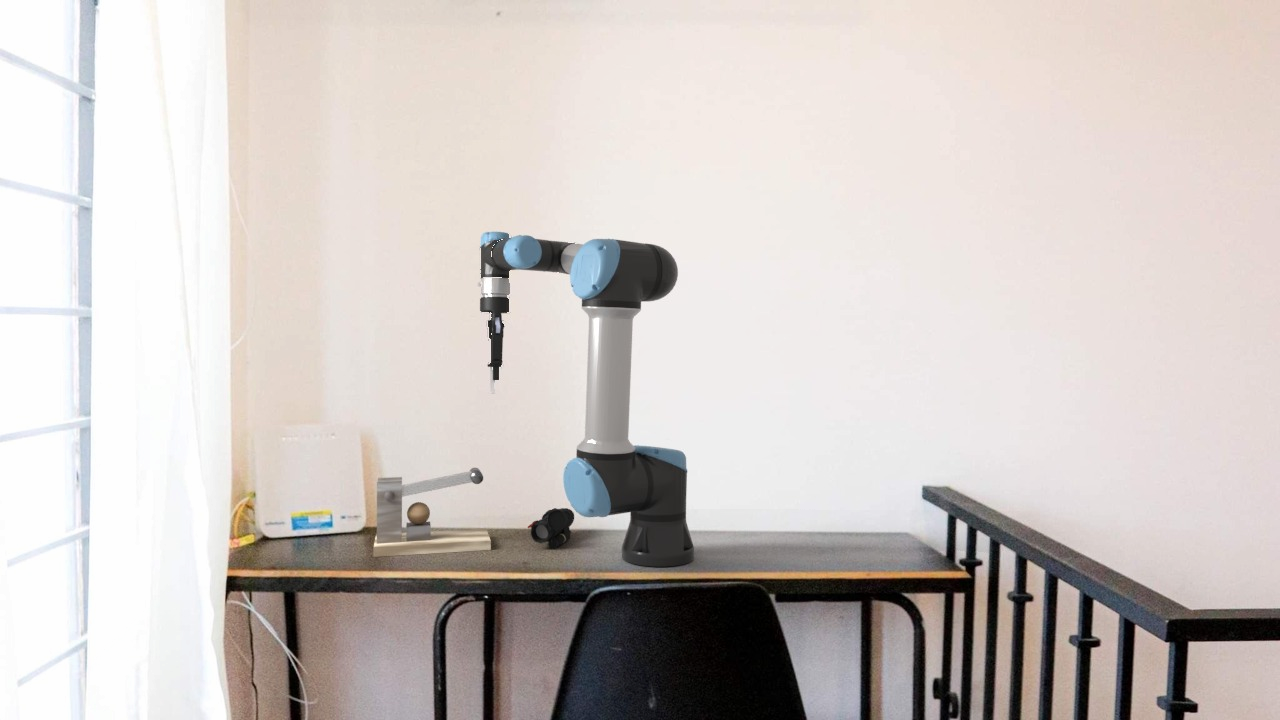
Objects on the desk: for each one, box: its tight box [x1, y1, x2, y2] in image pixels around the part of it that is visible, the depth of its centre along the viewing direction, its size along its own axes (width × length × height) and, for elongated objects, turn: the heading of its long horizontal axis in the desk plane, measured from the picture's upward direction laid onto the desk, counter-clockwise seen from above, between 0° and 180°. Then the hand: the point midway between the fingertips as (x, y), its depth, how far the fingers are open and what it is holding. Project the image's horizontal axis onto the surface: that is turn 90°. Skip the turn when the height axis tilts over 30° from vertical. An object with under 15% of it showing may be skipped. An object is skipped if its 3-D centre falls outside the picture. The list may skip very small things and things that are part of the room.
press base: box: [372, 476, 492, 558], centre depth 175 cm, size 12×24×15 cm, turn 106°
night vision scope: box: [527, 507, 575, 550], centre depth 180 cm, size 8×18×10 cm
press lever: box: [402, 467, 484, 498], centre depth 175 cm, size 7×21×3 cm, turn 106°
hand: (495, 393), depth 195 cm, fingers closed
